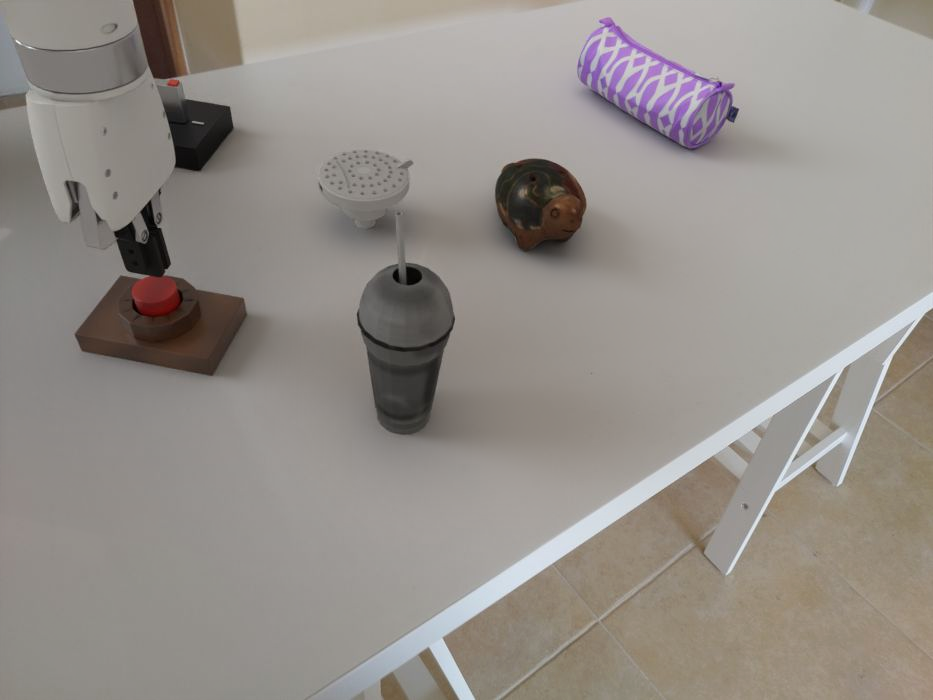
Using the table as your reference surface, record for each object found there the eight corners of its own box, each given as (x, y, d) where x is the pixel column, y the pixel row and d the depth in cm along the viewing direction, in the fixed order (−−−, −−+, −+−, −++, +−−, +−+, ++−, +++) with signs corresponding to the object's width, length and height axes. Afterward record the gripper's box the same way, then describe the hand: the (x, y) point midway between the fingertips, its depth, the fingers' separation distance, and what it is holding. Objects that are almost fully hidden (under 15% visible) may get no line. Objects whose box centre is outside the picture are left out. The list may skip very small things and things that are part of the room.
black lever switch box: (101, 154, 86) (93, 129, 83) (142, 112, 92) (136, 89, 90) (199, 171, 85) (194, 147, 82) (233, 128, 92) (230, 104, 89)
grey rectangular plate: (138, 117, 86) (128, 78, 83) (143, 111, 87) (134, 73, 84) (184, 123, 86) (176, 85, 82) (189, 117, 87) (181, 79, 83)
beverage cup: (390, 462, 59) (392, 272, 45) (344, 403, 63) (332, 210, 49) (462, 423, 63) (486, 234, 48) (415, 369, 66) (423, 179, 52)
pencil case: (728, 142, 99) (754, 74, 93) (688, 163, 95) (711, 94, 88) (605, 76, 110) (620, 12, 103) (563, 92, 105) (576, 26, 98)
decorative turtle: (534, 282, 76) (539, 217, 70) (467, 209, 86) (467, 146, 80) (611, 256, 79) (623, 192, 74) (538, 189, 89) (543, 127, 83)
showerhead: (427, 184, 74) (329, 198, 71) (424, 241, 79) (332, 256, 76) (399, 135, 80) (308, 146, 77) (398, 192, 85) (312, 204, 82)
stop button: (129, 313, 63) (123, 298, 62) (148, 286, 66) (144, 271, 65) (168, 321, 63) (164, 306, 62) (187, 293, 66) (183, 278, 64)
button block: (81, 351, 65) (67, 318, 62) (126, 292, 70) (115, 259, 67) (212, 376, 64) (204, 344, 61) (247, 314, 69) (241, 283, 67)
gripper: (89, 3, 54) (148, 210, 67) (-45, 97, 43) (57, 321, 57) (188, 18, 53) (228, 224, 66) (76, 117, 43) (150, 338, 56)
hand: (149, 268), depth 61 cm, fingers closed
